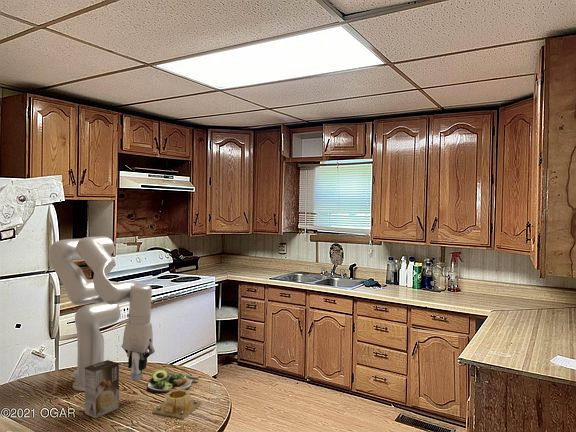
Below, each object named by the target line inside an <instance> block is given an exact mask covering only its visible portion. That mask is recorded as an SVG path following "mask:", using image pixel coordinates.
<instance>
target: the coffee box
mask: <svg viewBox="0 0 576 432" xmlns="http://www.w3.org/2000/svg"><path fill="white" fill-rule="evenodd" d="M119 365H120V363H119V362H116V361H113V360H109V359H106V360H104V361H103V362H100V363H97V364H94V365H91V366H88V367H85V391H84V414H85V415H87V416H90V417H92V418H94V419H98V418H100V417H102V416H104V415H106V414H109V413H111V412H113V411H115V410H117V409H119V407H120V403H119V402H120V396H119V395H120V393H119V392H120V391H119V389H120V388H119V387H120V386H119V385H120V384H119V383H120V379H119V377H120V376H119V375H120V374H119V373H120V366H119Z"/></svg>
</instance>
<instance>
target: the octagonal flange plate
mask: <svg viewBox="0 0 576 432" xmlns="http://www.w3.org/2000/svg"><path fill="white" fill-rule="evenodd" d="M177 389H178V390H173V389H171V390H172V391H170V392H166V393H165V394H164V395H165V397H164V399H165V401H164V402H162V403H161V404H159V405H158V406H156V407H155V408H154V409H152V414H156V415H161V416H164V417H165V416H166V417H171V418H175V419H181V420H184V419H185V418H186V417H188V416H189V415H190V414H191V413H192V412H193V411H196V409H197V408H198V407H200V406H201V405H202V401H201V400H198V399H191V393H190V391H189V390H188V389H185V390H182V389H179V388H177Z"/></svg>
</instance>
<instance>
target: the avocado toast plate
mask: <svg viewBox="0 0 576 432" xmlns="http://www.w3.org/2000/svg"><path fill="white" fill-rule="evenodd" d="M198 380H200V379H199V377H196V376H191V375H190V374H189V373H180V372H177V373H171V372H168V371H167V370H166V369H162V368H161V369H157V370H155V371H154V372H153V373H152V375H151V377H150V379H149V382H148V384H147V386H146V387H147V388H146V389H147V390H149V392H151V393H157V394H163V393H165V394H166V393H168V392H170V391H172V390H178V389H182V390H188V389H189V388H190V387H191V385H192V383H193V382H194V381H198ZM175 387H179V388H175ZM173 388H175V389H173Z"/></svg>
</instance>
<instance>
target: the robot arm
mask: <svg viewBox="0 0 576 432" xmlns="http://www.w3.org/2000/svg"><path fill="white" fill-rule="evenodd" d="M48 250H49V251H48V259H49V263H50V265H51V267H52V268H53V271H54V272H55V273H56V275H57V276H58V277H59V279H60V281H61V284H62V286H63V288H64V290H65V292H66V294H67V297H68V298H69V300H70V302H71V304H73V306H82V307H80V308H79V309H78V310H77V311H76V312H75V315H74V324H75V328H76V334H77V336H76V337H77V345H76V346H77V355H76V356H77V358H76V359H77V362H76V364H77V365H76V367H77V370H74V371H73V372H72V374H71V375H70V378H72V379H74V380H75V381H74V382H73V383H72V388H73V389H74V390H75V391H80V392H85V367H88V366H91V365H94V364H97V363H100V362H103V361H105V338H104V334H103V333H102V332H101V331H100V328H102V327H106V326H110V325H113V324H115V323H117V322H118V321H119V320H120V318H121V308H120V305H119V304H122V303H129V304H128V307H129V309H128V313H127V314H126V318H128V320H127V321H126V324H125V327H124V331H123V335H122V337H123V338H122V344H121V348H122V349H123V350H124V352H125V353H126V356H127V358H128V360H127V361H128V366H127V368H128V369H131V364H132V351H135V352H140V355H141V360H139V371H141V370H144V369H146V368H147V360H148V358H149V357H150V356H151V355H153V354H154V353H156V350H155V348H154V345H153V342H154V341H153V339H154V336H153V325H152V322H151V310H152V294H153V293H152V292H153V289H152V286H151V285H150V284H149V285H148V284H142V283H139V282H138V281H135V280H127V281H126V280H125V281H121V282H115V283H113V282H111V280H109V279H108V277H107V275H109V274H110V272H111V271H112V270H113V269H114V267H115V264H116V262H115V259H114V257H113V256H111V255H112V254H113V253H114V251H115V243H114V241H113V240H112V239H111V238H110V237H108V236H105V235H102V236H101V235H99V236H98V235H97V236H86V237H82V238H68V239H60V240H58V241H55V242H53V243H52V244H51V245H50V247H49V249H48ZM73 260H83V261H84V262H85V263H86V265H87V267H89V268H90V270H91V271H92V272H93V278H92V279H88V278H87V277H86V276H85V273H84V270H82V268H81V267H80V266H79V265H77V264H76V263H75V262H73Z"/></svg>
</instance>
